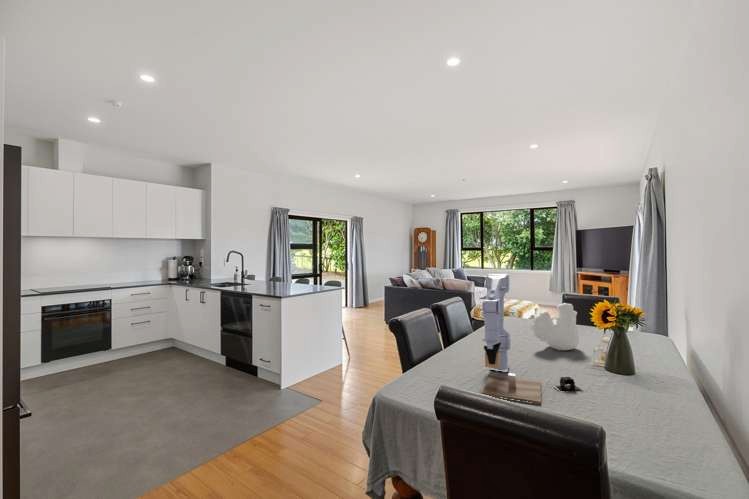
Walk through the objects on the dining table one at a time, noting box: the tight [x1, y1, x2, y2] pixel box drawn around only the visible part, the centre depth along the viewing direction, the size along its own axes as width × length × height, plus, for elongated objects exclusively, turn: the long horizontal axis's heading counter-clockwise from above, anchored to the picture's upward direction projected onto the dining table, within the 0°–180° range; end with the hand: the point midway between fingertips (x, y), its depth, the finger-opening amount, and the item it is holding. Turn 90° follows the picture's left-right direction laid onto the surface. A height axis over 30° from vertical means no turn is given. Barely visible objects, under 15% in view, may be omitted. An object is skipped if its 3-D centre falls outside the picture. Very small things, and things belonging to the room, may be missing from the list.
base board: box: [481, 374, 542, 406], centre depth 131 cm, size 20×20×1 cm
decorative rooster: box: [530, 302, 580, 351], centre depth 182 cm, size 25×16×25 cm, turn 81°
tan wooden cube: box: [484, 351, 500, 369], centre depth 137 cm, size 5×5×6 cm
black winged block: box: [555, 376, 584, 393], centre depth 130 cm, size 12×7×5 cm, turn 89°
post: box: [507, 372, 517, 388], centre depth 131 cm, size 3×3×5 cm
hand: (493, 361), depth 137 cm, fingers closed on tan wooden cube, 5 cm apart
